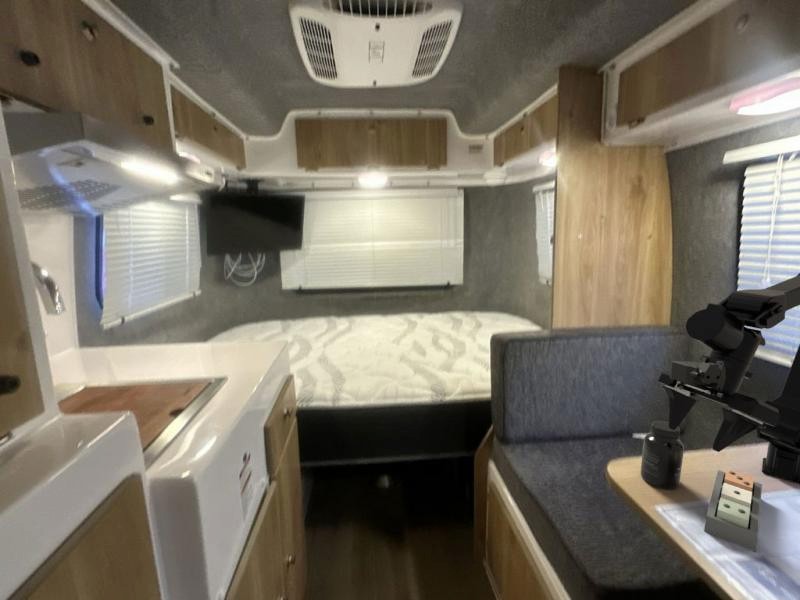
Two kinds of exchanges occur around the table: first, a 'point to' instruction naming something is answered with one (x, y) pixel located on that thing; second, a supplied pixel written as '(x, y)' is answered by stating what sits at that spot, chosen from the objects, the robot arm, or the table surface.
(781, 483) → the table surface
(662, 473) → the supplement bottle
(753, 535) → the grey tile tray
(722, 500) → the tile two dots
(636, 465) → the table surface
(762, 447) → the table surface
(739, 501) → the tile one dot
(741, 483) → the tile three dots
